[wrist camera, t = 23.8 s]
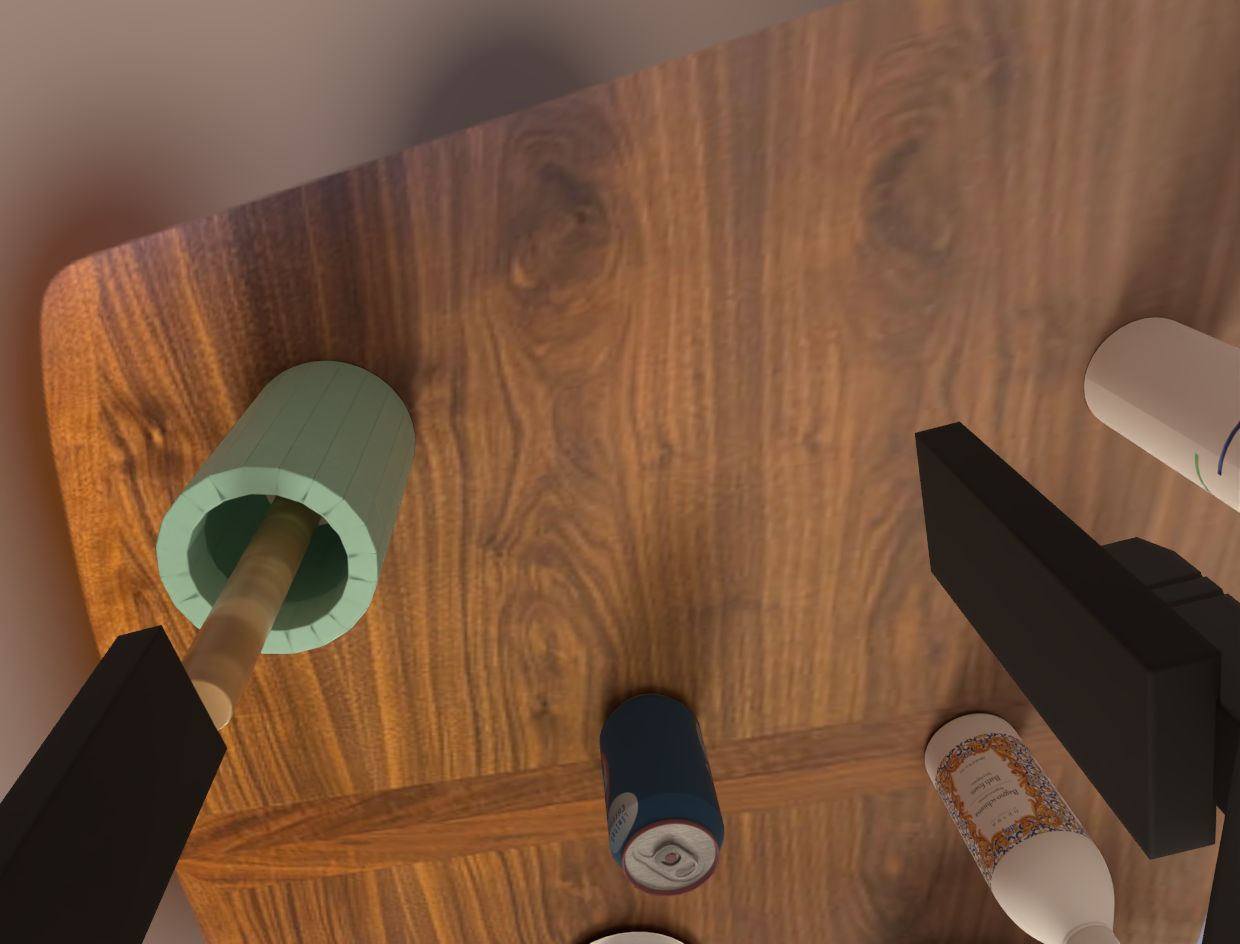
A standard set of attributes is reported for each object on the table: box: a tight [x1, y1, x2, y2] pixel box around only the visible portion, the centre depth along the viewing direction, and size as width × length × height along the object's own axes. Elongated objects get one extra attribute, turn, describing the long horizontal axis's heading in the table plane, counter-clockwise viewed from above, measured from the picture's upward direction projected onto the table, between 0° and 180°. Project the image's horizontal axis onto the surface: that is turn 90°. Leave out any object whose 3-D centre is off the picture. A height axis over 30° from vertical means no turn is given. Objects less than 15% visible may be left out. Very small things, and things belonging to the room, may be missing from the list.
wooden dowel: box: [181, 495, 328, 731], centre depth 44 cm, size 4×4×24 cm
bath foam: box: [925, 713, 1120, 944], centre depth 60 cm, size 7×7×20 cm
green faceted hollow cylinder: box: [156, 361, 415, 654], centre depth 49 cm, size 9×9×15 cm
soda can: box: [600, 694, 724, 896], centre depth 61 cm, size 7×7×12 cm
